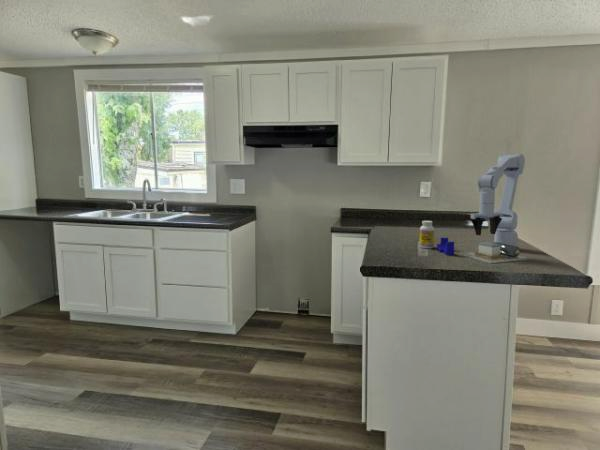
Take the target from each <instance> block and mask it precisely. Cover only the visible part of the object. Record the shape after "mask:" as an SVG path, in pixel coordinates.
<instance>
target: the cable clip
mask: <svg viewBox="0 0 600 450" xmlns="http://www.w3.org/2000/svg"><path fill="white" fill-rule="evenodd" d="M436 250H437V251H438V253H443V254H445V255H446V256H454V255H455V241H449V238H448V237H440V243H437V244H436Z"/></svg>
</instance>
